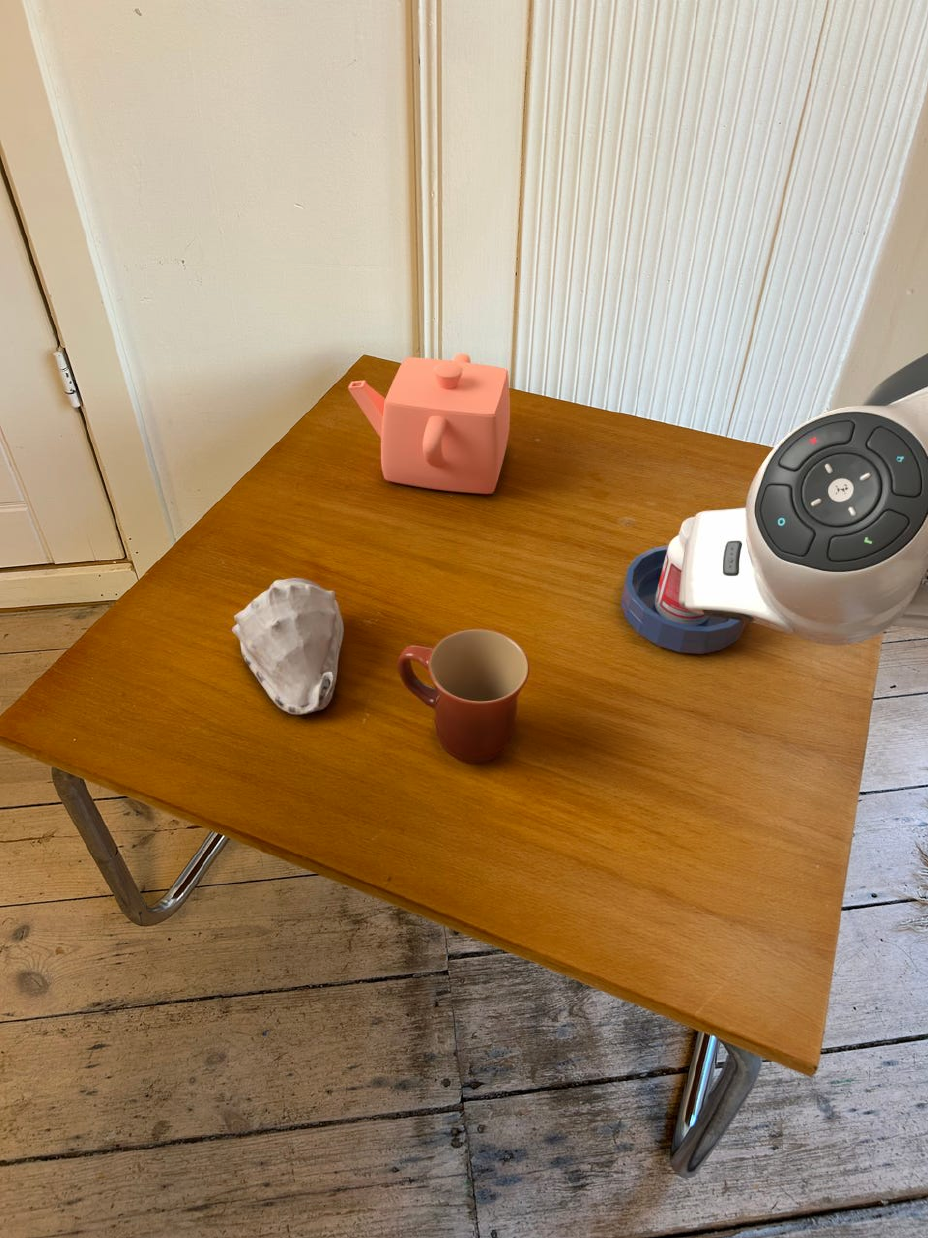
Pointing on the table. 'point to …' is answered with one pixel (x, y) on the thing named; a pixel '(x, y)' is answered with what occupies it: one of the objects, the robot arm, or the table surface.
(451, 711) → the mug
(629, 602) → the bowl
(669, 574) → the pill bottle
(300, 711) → the seashell
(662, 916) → the table surface
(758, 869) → the table surface
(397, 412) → the teapot
